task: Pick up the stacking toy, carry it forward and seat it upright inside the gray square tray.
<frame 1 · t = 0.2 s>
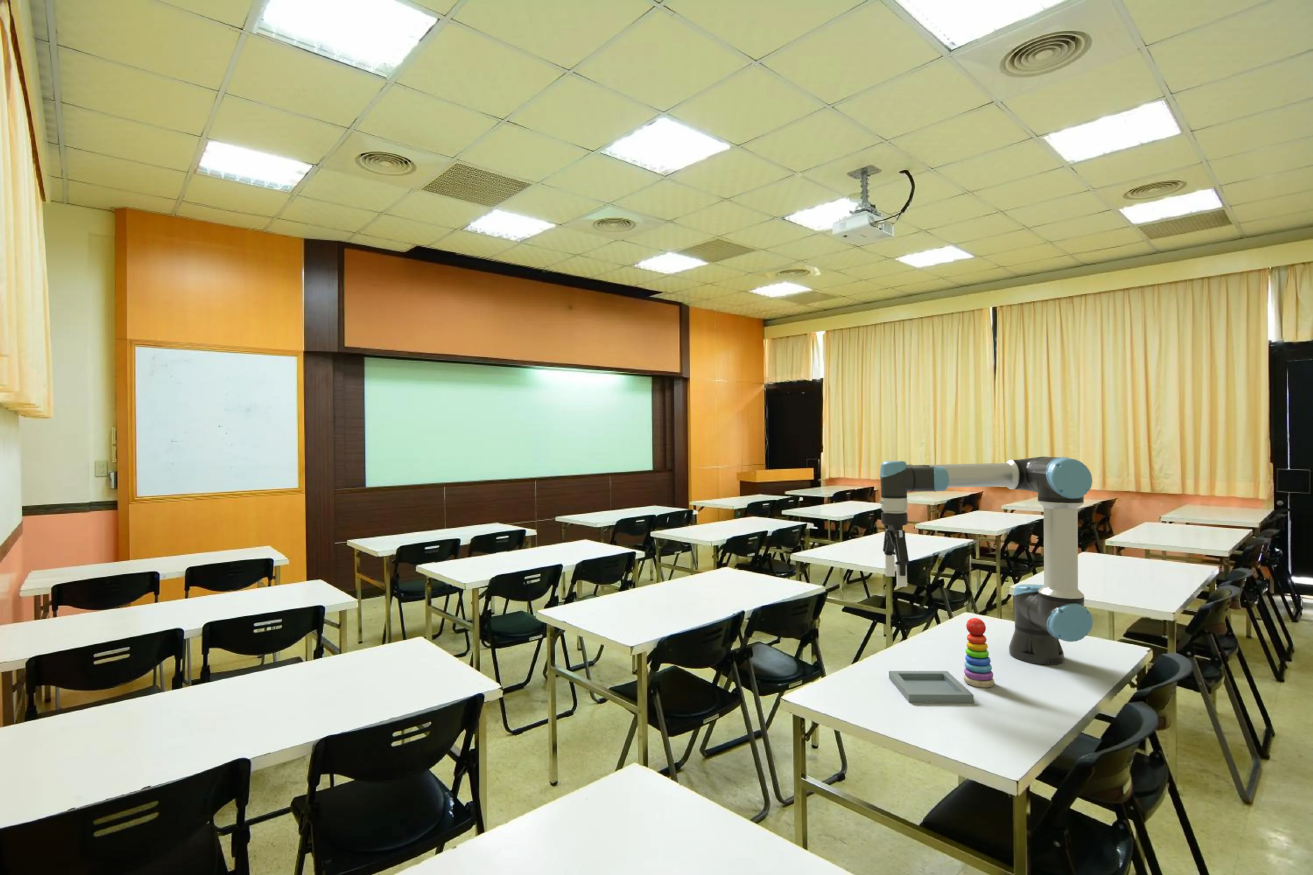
hand: (895, 581, 189), 28 cm above the table, fingers open, 13 cm apart
gray square tray: (929, 689, 175), on the table
stacking toy: (978, 683, 179), on the table
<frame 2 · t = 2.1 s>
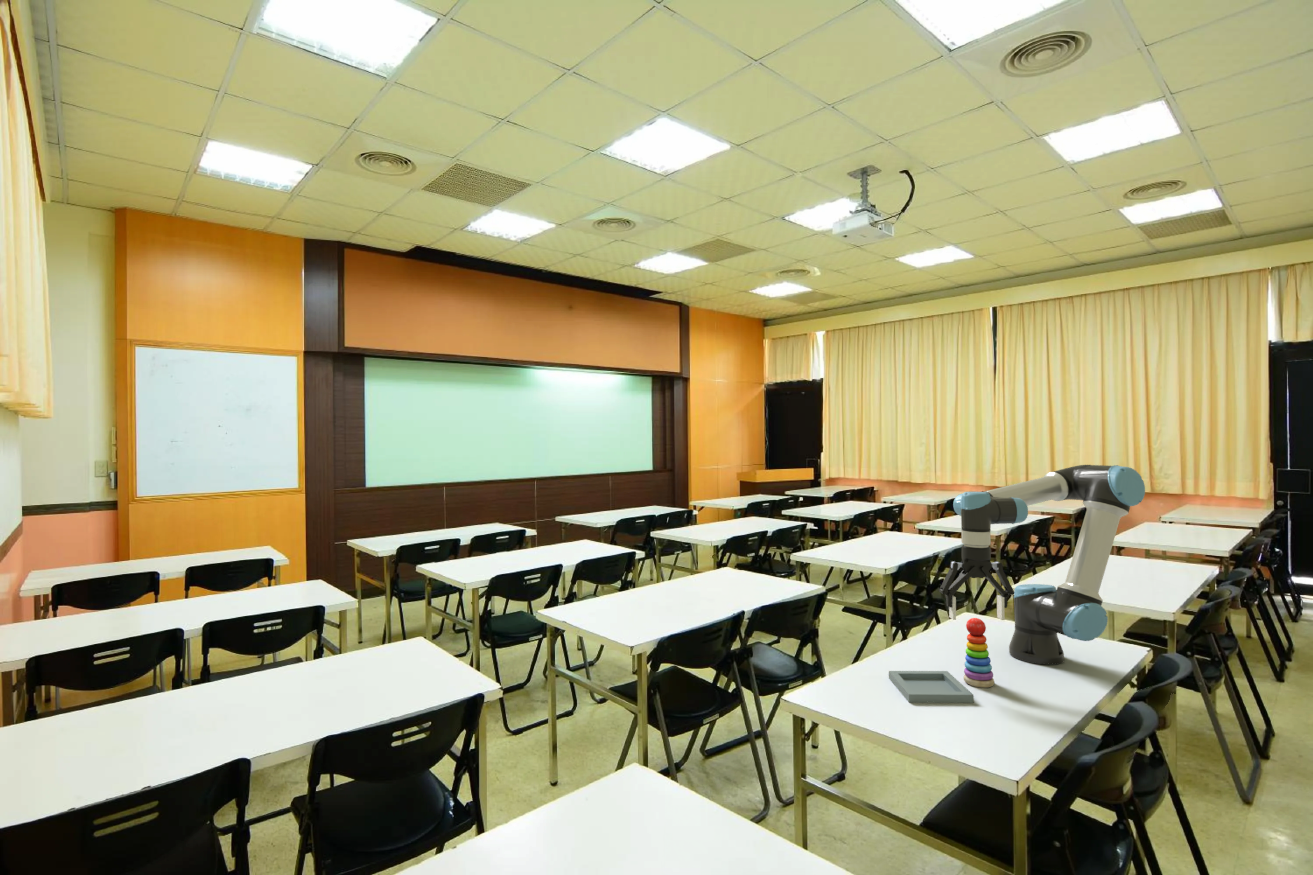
hand: (976, 618, 179), 19 cm above the table, fingers open, 13 cm apart
nothing on the table moved.
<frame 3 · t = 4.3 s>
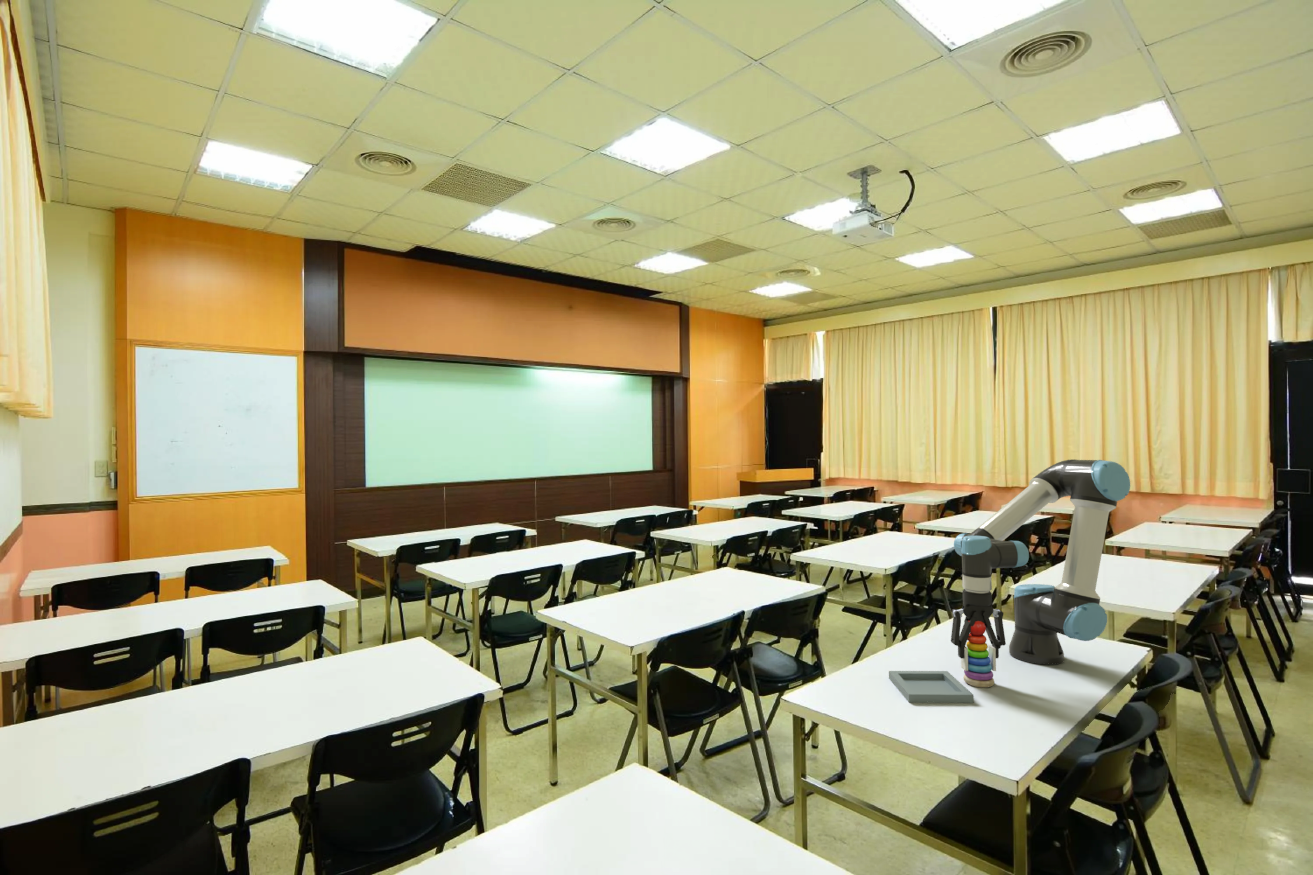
hand: (978, 668, 179), 4 cm above the table, fingers closed on stacking toy, 7 cm apart
stacking toy: (978, 683, 179), on the table, touching gripper
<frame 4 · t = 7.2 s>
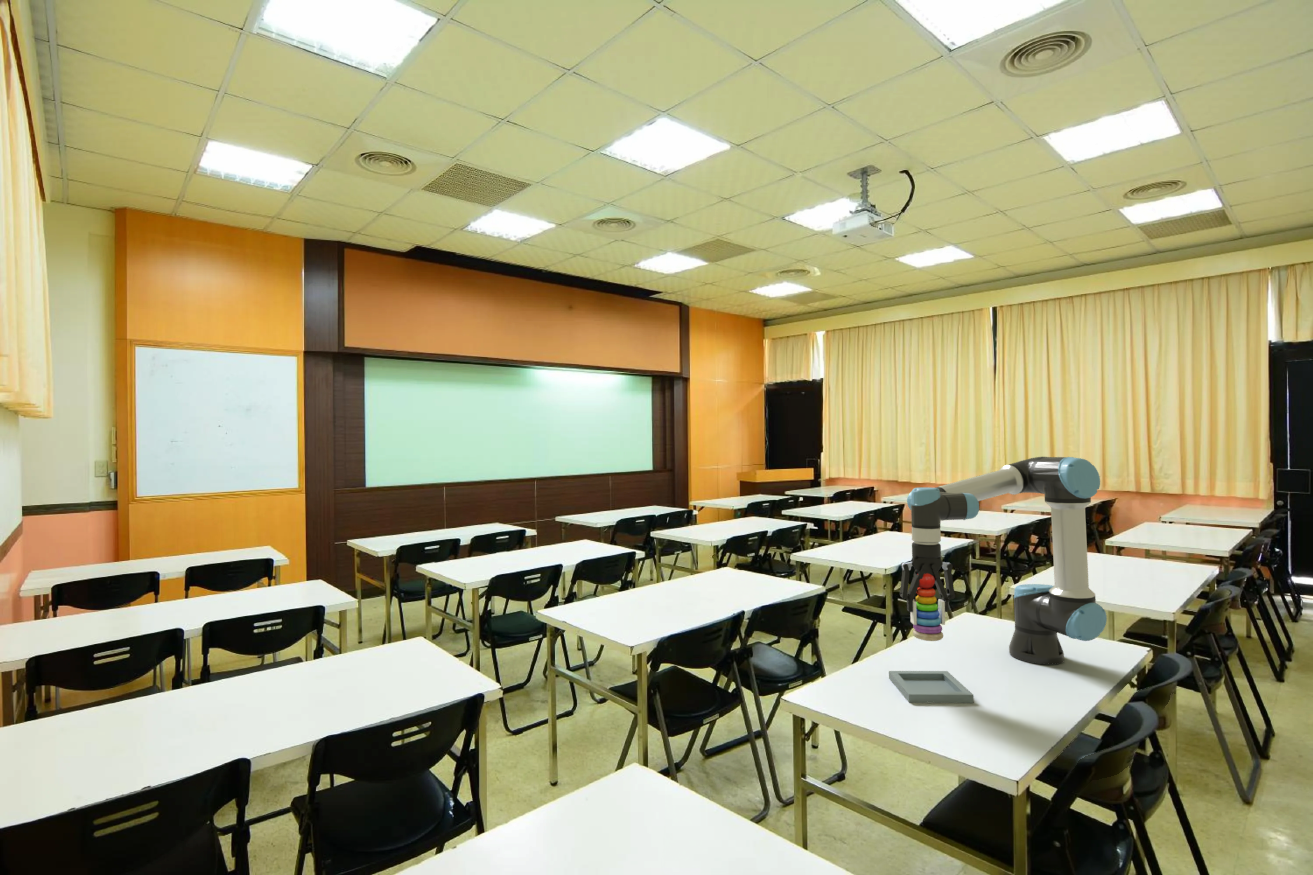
hand: (927, 623, 175), 19 cm above the table, fingers closed on stacking toy, 7 cm apart
stacking toy: (927, 638, 175), point 15 cm above the table, touching gripper
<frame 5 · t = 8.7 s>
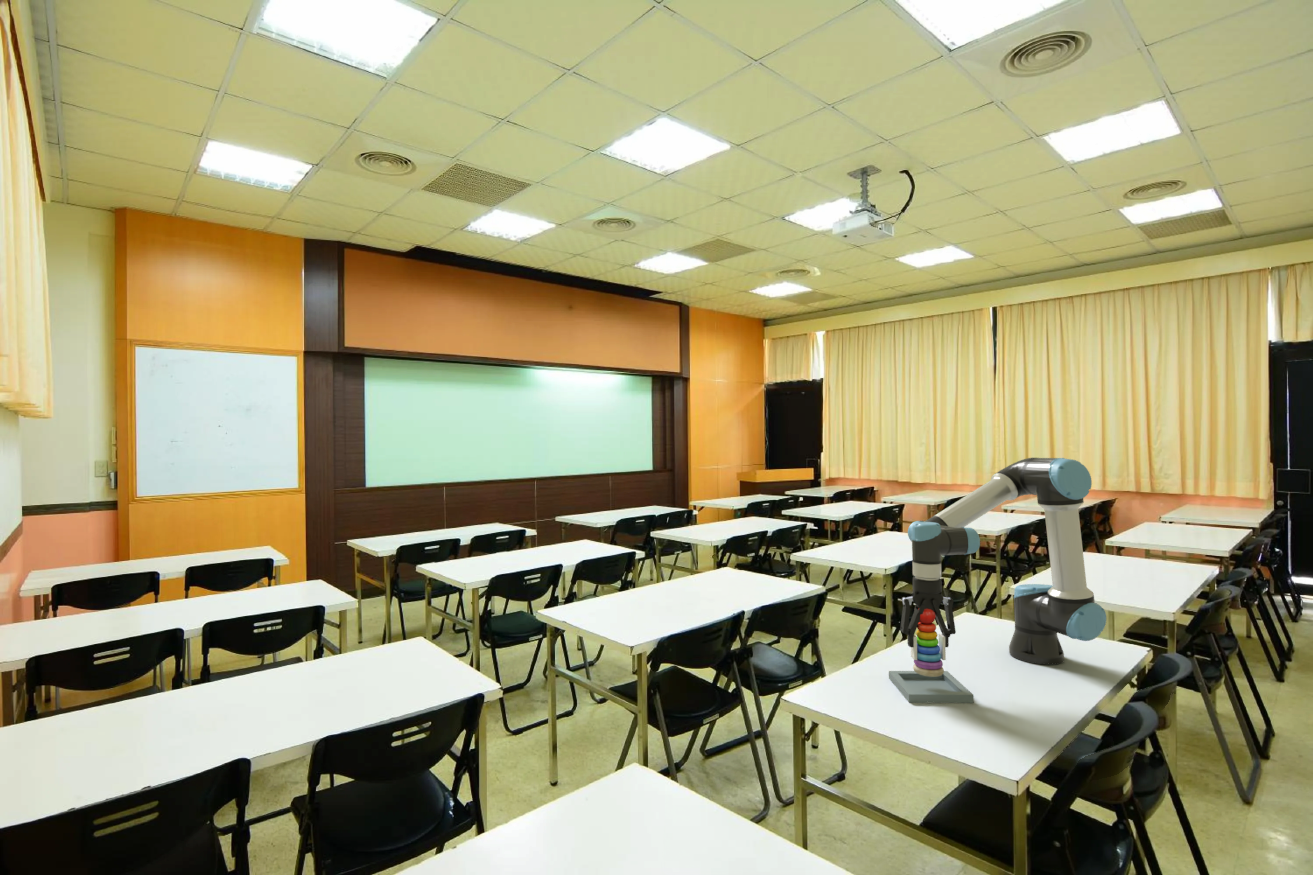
hand: (928, 658, 175), 9 cm above the table, fingers closed on stacking toy, 7 cm apart
stacking toy: (928, 673, 175), point 5 cm above the table, touching gripper
when the fingers open (6 cm above the table, at t = 10.2 s): stacking toy drops 1 cm, resting on gray square tray.
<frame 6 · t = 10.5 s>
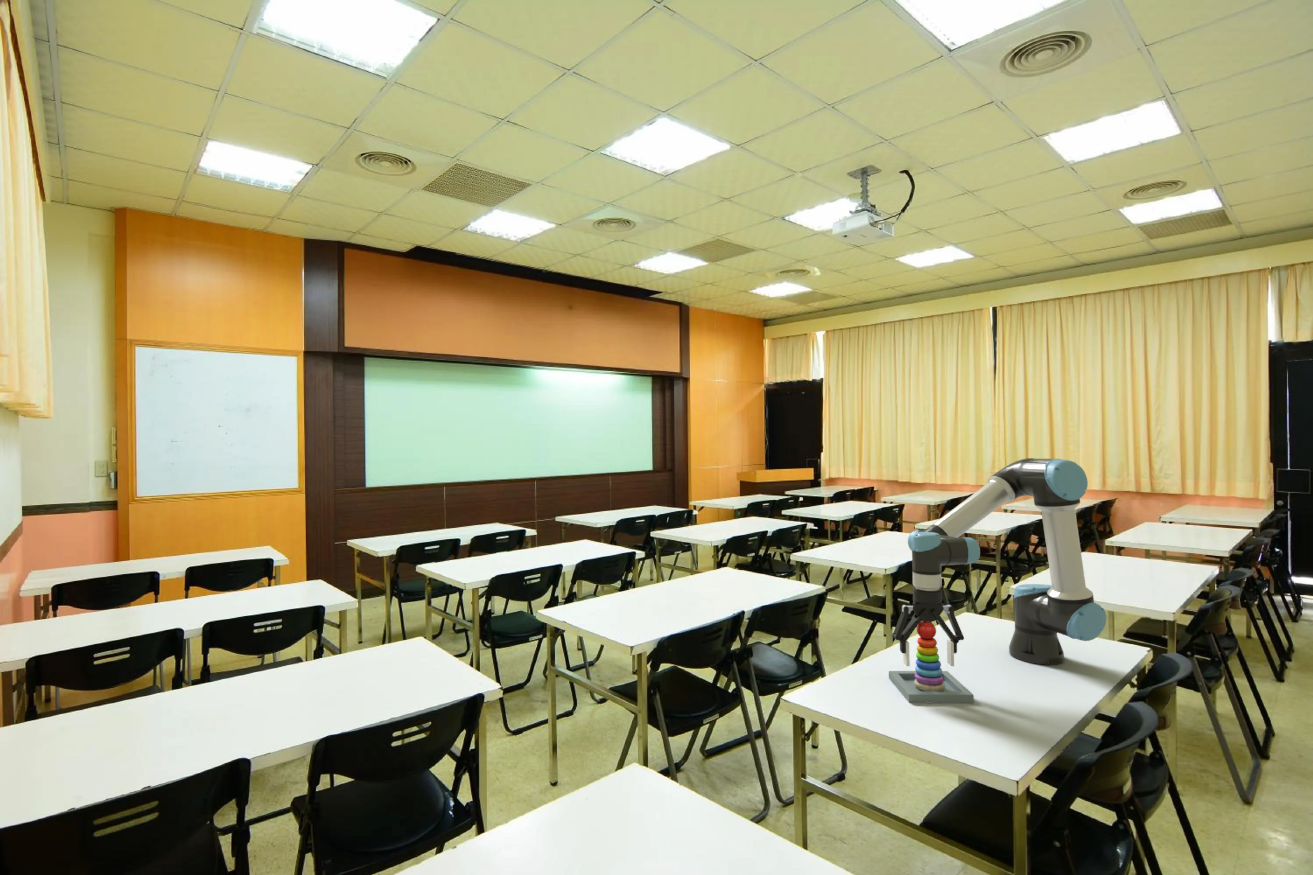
hand: (928, 664, 175), 7 cm above the table, fingers open, 11 cm apart
stacking toy: (929, 688, 175), resting on gray square tray
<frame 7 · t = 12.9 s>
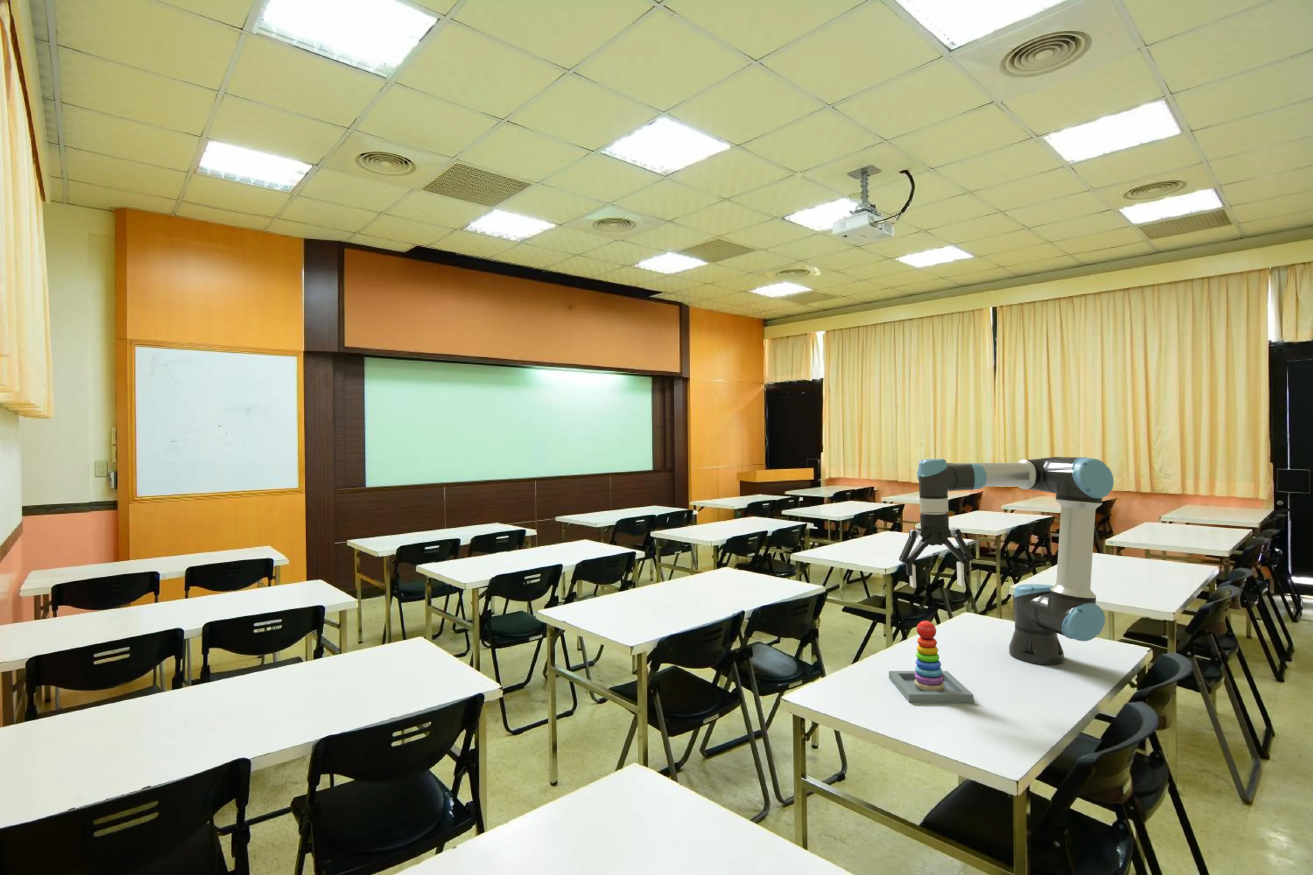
hand: (936, 586, 179), 28 cm above the table, fingers open, 13 cm apart
nothing on the table moved.
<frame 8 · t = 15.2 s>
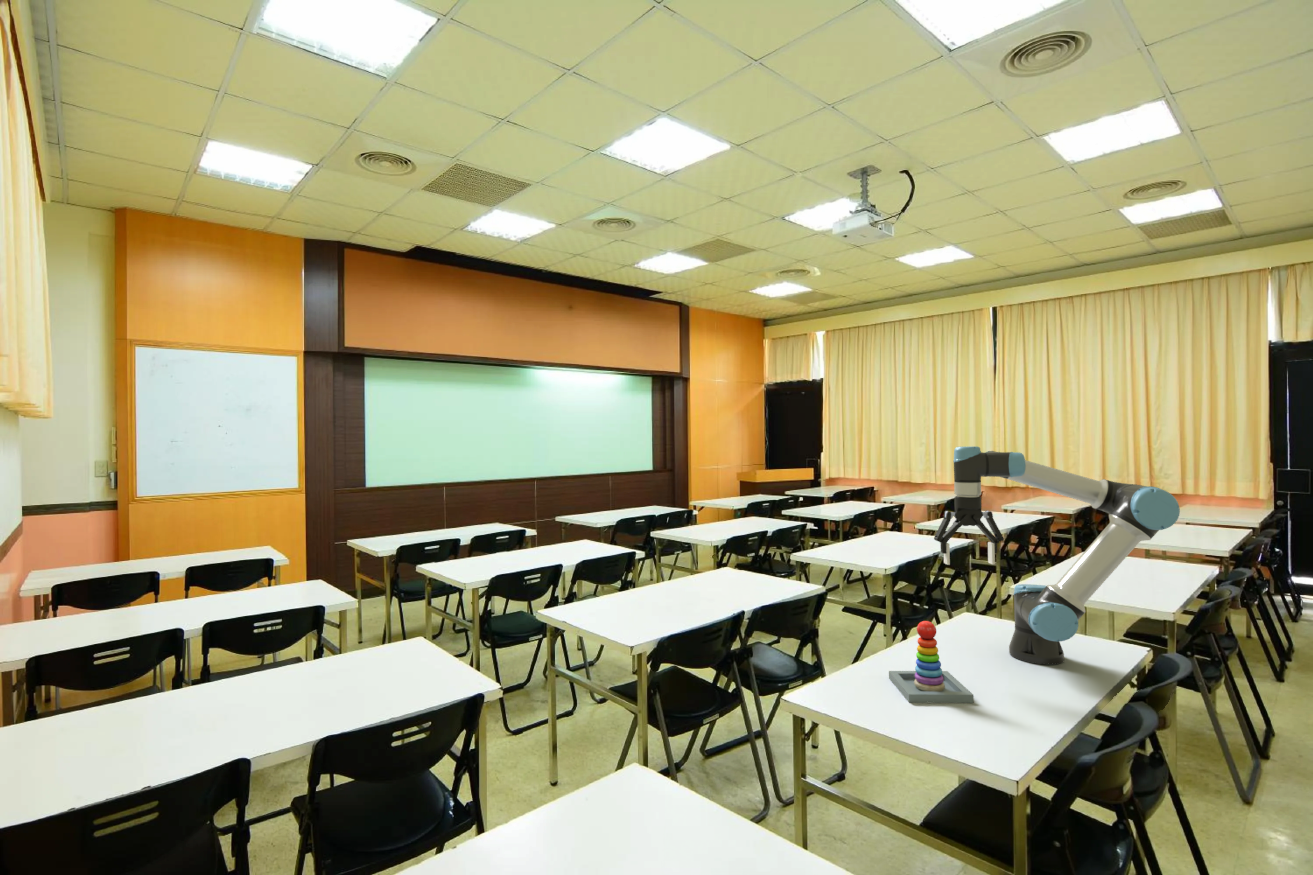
hand: (969, 563, 193), 32 cm above the table, fingers open, 13 cm apart
nothing on the table moved.
at the end: stacking toy inside the target area on the gray square tray (0.1 cm from its centre), point 0.4 cm above the gray square tray's base; stacking toy tilted 0°; the gripper is holding nothing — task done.
